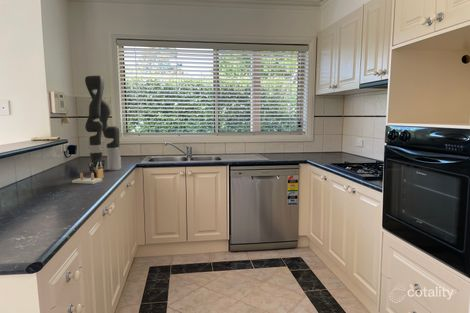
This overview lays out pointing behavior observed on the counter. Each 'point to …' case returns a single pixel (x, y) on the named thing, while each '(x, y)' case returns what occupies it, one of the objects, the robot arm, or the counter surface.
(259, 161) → the counter surface
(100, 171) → the light orange block
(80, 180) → the base
